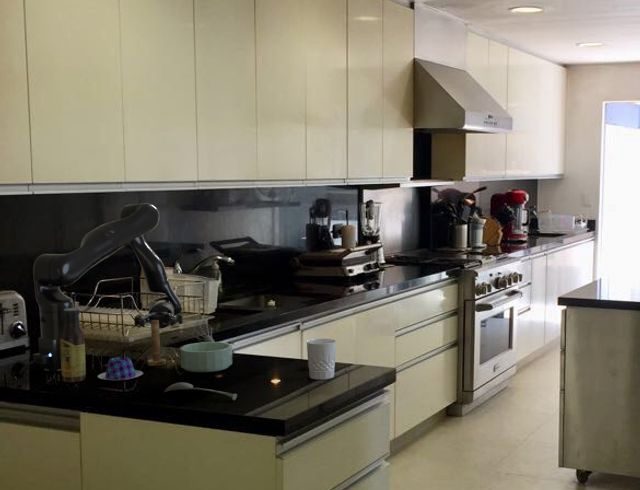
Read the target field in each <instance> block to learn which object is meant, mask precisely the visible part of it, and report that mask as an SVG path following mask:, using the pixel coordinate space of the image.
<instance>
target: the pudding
mask: <svg viewBox="0 0 640 490" xmlns="http://www.w3.org/2000/svg"><path fill="white" fill-rule="evenodd" d="M142 375H144V372H143V371H141V370H138V369H135V367H134V364H133V361H132V359H131V358H130V357H128V356H118V357H112V358H109V360H108V361H107V366H106V371H105V372H102V373H100V374H98V375H97V378H98V379H101V380H106V381H112V382H119V381H128V380H132V379H135V378H138V377H140V376H142Z"/></svg>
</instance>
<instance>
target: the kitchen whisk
mask: <svg viewBox="0 0 640 490" xmlns="http://www.w3.org/2000/svg"><path fill="white" fill-rule="evenodd" d="M196 322H197V324H198V326H196V325H192V326H191V328H192V329H193V331H192V333H194V332H196V333H197V334H199V335H200V336H201V337H203V339H202V338H201V340H202V341H201V340H200V338H199V337H198V336H195V335H194V334H192V336H193V337H194V338H196V339H197V340H198V341H199V343H202V342H216V341H215V339H213V331H211V332H210V331H209V327H210V328H211V329H213V328H212V326H211V325H210V324H208V323H207V322H205V320H203V321H202V322H201V324H203V323H204V322H205V325H201V324H200V323H199V321H196ZM194 327H195V328H194ZM203 327H206V328H203ZM197 330H198V331H197ZM206 330H207V334H206V333H205V332H204V331H206ZM199 331H200V332H201V334H200V333H199ZM202 333H204V335H203V334H202ZM209 333H210V335H209Z"/></svg>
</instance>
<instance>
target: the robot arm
mask: <svg viewBox="0 0 640 490" xmlns="http://www.w3.org/2000/svg"><path fill="white" fill-rule="evenodd" d="M159 222H160V211H159V209H158V208H157V207H156V206H155V205H154V204H152V203H148V202H144V203H133V204H127V205H124V206H122V208H121V210H120V213H119V219H117V220H116V219H115V220H112V221H110V222H107V223H104V224H101V225H99V226H97V227H96V228H94V229H92V230H91V231H89V232H88V233H86V234H85V235H84V236H83V237H82V239H81V242H80V247H78V248H77V249H75V250H73V251H71V252H69V253H63V254H62V253H61V254H59V253H42V254H40V255H39V256H38V257H37V258H36V259H35V260H34V263H33V267H32V276H33V285H34V286H33V287H34V293H35V300H36V302H37V304H38V307H39V321H40V322H39V325H40V337H38V339H37V340H38V341H37V342H38V353H33V354H32V360H30V361H29V362H27V363H26V364H25V365H24V366H22V367H21V369H20V371H19V372H18V374H19V375H20V376H22V374H23V373H24V372H25V370H26V369H27V368H29V367H30V366H31V365H33V364H39V369H40V370H39V371H41V372H42V371H43V372H47V373H48V372H49V373H57V372H58V373H61V352H60V337H61V334H62V330H63V327H64V315H63V310H64V309H67V308H75V304H74V300H73V298H71V297H69V296H67V295H66V294H65V293H63V291H62V290H61V288H65V287H69V286H71V285H73V284H74V283H76V282H77V281H78V280H79V279H81V278H82V276H84V275H85V274H86V273H87V272H89V270H91V269H92V268H94V267H95V266H97V265H99V263H101V262H103V261H104V260H106V259H108V258H110V257H111V256H113V254H115V253H116V252H118V251H119V250H120V249H123V248H124V247H125V246H127V245H128V244H130V246H131V248H132V251H133V252H134V254H135V256H136V258H137V260H138V262H139V266H140V267H141V271H142V272H143V276H144V279H145V283H146V286H147V288H148V291H149V292H150V293H152V294H164V295H165V296H161V297H157V298H154V299H151V300H150V301H149V303H148V313H147V314H145V315H144V316H143V315H142V314H140V313H137V314H136V315H135V316H134V318H133V319H134V321H133V322H134V326H137V327H138V326H140V327H141V328H145V326H147V327H151V321H152V320H159V330H161V329H165V328H168V327H169V326H171V327H173V326H174V325H177V324H179V325H182V324H183V323H184V321H183V320H184V319H183V317H184V316H183V312H182V310H183V304H182V301H181V299H180V297H179V295H177V293H176V292H175V291H174V289H173V287H172V285H171V282H170V279H169V278H168V277H169V276H168V274H167V270H166V268H165V265H164V263H163V261H162V259H161V258H160V257H159V256H158V254H157V253H156V252H155V251H154V250H153V249H152V248H151V246H150V245H149V244H148V243H147V241H146V240H145V238H144V235H145V234H147V233H150V232H152V231H153V230H155V229H156V228H157V226H158V225H159Z"/></svg>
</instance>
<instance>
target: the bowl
mask: <svg viewBox="0 0 640 490" xmlns="http://www.w3.org/2000/svg"><path fill="white" fill-rule="evenodd" d="M233 360H234V359H233V345H232V344H230V343H228V342H222V341H221V342H220V341H215V342H204V341H202V342H194V343H189V344H188V343H187V344H184V345H181V346H180V347H179V366H180V368H182V369H183V370H185V371H186V372H192V373H210V372H211V373H212V372H219V371H223V370H226V369H228V368H229V367H231V365H233V363H234V362H233Z"/></svg>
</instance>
